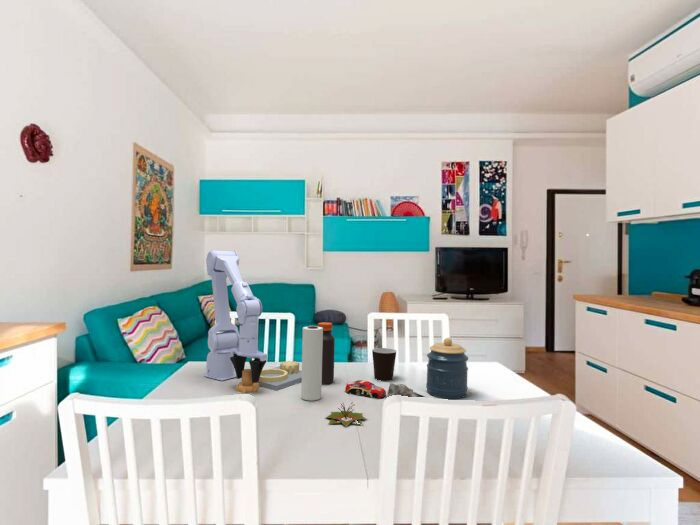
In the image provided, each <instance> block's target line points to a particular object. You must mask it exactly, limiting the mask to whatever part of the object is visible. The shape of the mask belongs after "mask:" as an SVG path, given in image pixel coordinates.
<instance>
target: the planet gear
mask: <svg viewBox="0 0 700 525" xmlns="http://www.w3.org/2000/svg"><path fill="white" fill-rule="evenodd" d="M258 389H260V386H259V383H252V371H251V368H244V370H242V378H241V382H238V384H236V385H235V391H236V392H241V393H243V394H246V393H251V392H257V391H258Z"/></svg>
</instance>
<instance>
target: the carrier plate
mask: <svg viewBox="0 0 700 525" xmlns="http://www.w3.org/2000/svg"><path fill="white" fill-rule="evenodd" d="M299 382H300V383H301V382H302V370H300V362H297V361H291V360H288V361H281V362H280V363H279V366H276V367H272V368H263V369H262V371H261V374H260V378H259V382H256V383H259V387H262V388H265V389H269V390H273V391H279V390H282V389H285V388H288V387H291V386H293V384H294V385H297V384H299ZM296 383H297V384H296ZM290 385H291V386H290ZM287 386H288V387H287Z"/></svg>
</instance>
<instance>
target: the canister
mask: <svg viewBox="0 0 700 525" xmlns="http://www.w3.org/2000/svg"><path fill="white" fill-rule="evenodd" d="M429 349H430V352H428V353H426V357H427V358H428V362H427V364H426V384H425V385H426V386H425V388H426V392H427V394H429V393H430V394H429V395H431V394H432V395H431V396H433V395H435V396H434V397H436V396H437V398H440V397H441V398H442V399H449V400H450V399H453V400H455V399H456V398H457V399H463V398H465V397H466V396H467V393H468V387H469V386H468V372H469V368H468V364H467V363H468V362H467V361H468V360H469V356H468V355H466V352H467V350H466V349H465V347H463V346H462V345H461V344H458V343H454V342H453V341H452V339H451V338H449V337H445V338H444V339H443V342H436V343H434V345H431V346H430V347H429Z"/></svg>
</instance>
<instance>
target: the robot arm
mask: <svg viewBox="0 0 700 525" xmlns="http://www.w3.org/2000/svg"><path fill="white" fill-rule="evenodd" d="M205 259H206V260H205V262H206V272H207V273H206V274H207V275H208V276H209V277H211V285H212V297H213V307H214V316H215V319H214V320H215V323H214V324H213V326H212V327H210V328H209V330H208V331H207V333H208V337H207V347H208V349H209V350H210V351H209V352H208V354H207V356H206V373H205V374H204V377H207V378H210V379H214V380H218V381H220V382H222V381H227V380H230V379H234V378H236V379H237V380H239V379H242V370H244V369H245V364H246V361H247V358H249V359H252V360H249V361H248V362H249V366H250V369H251V371H252V383H256V382H259V378H260V374H261V371H262V369H264V367H265V365H266V363H267V361H268V353H264V352H262V351H260V350H259V347H258V346H259V345H258V344H259V317H261V315H262V313H263V305H262V302H261V300H260V299H259V298H257V296H254V294H253V292H252V290H251V288H250V285H249V284H248V282H246V281H243V277H242V274H241V271H240V268H239V264H240V256H239V253H238V252H237V251H236V250H213V249H211V250H209V251H208V252H207V255H206V258H205ZM227 278H228V280H229V281H230V283H231V285H232V287H231V289H230V291H231V293H232V295H233V298H234V300H235V302H236V305H237V306H236V308H235V309H236V314H237V322H238V324H239V329H238V326H237V325H235V324H234V323H232V322H231V315H230V314H231V312H230V303H229V293H228V285H227V284H228V283H227Z"/></svg>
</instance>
